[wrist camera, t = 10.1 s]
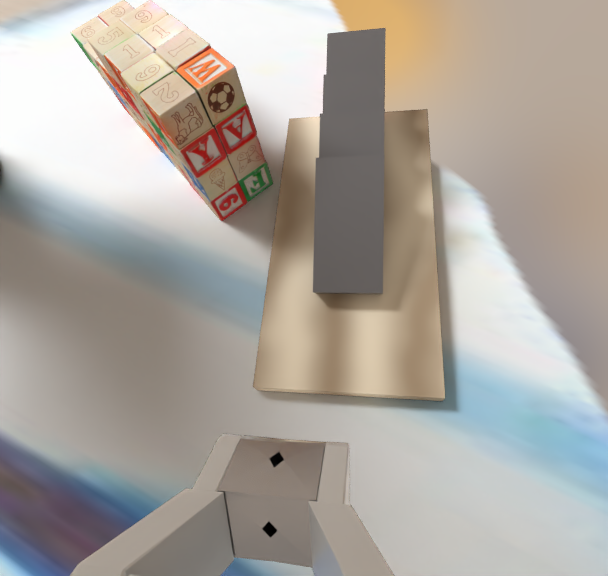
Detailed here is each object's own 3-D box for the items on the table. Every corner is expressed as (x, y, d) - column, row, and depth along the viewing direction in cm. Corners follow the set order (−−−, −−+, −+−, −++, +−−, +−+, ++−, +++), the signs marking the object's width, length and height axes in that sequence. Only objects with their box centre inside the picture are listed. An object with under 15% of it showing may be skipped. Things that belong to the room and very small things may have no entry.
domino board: (257, 390, 29) (252, 387, 28) (291, 128, 40) (289, 118, 39) (442, 401, 27) (445, 398, 26) (425, 119, 37) (427, 109, 36)
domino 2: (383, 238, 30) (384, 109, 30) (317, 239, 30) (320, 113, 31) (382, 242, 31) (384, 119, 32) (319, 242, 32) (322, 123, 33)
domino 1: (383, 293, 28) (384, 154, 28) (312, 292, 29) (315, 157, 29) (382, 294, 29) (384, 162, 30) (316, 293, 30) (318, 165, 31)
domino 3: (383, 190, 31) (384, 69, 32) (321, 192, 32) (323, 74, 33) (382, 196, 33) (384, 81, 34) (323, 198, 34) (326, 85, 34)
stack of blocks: (124, 112, 45) (44, -5, 34) (169, 82, 46) (105, -40, 35) (222, 223, 36) (156, 114, 25) (276, 184, 37) (235, 62, 26)
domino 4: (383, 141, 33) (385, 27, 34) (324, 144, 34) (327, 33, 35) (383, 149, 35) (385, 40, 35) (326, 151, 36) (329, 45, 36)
